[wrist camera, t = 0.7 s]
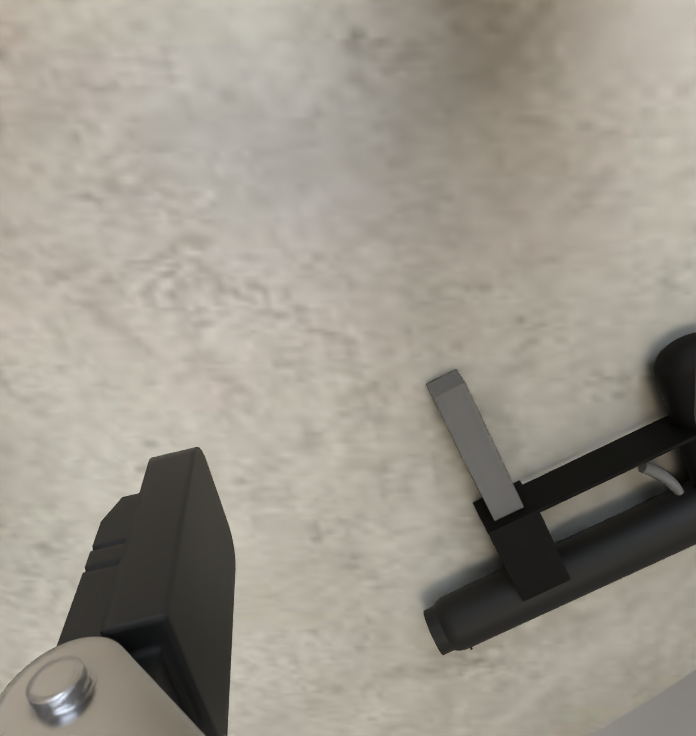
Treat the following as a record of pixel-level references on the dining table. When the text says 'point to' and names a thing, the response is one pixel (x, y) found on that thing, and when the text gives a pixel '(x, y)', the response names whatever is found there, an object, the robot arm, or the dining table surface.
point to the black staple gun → (525, 502)
